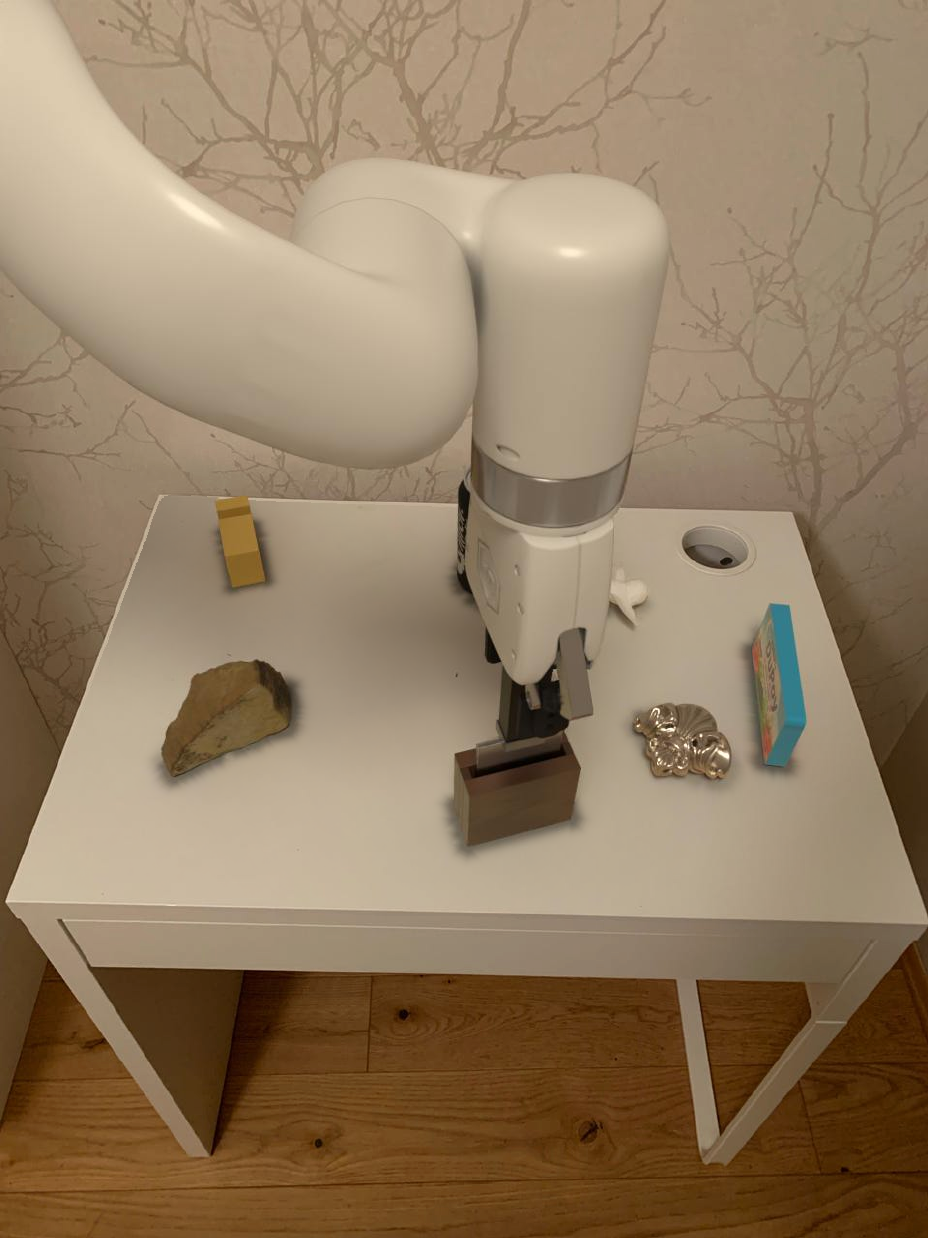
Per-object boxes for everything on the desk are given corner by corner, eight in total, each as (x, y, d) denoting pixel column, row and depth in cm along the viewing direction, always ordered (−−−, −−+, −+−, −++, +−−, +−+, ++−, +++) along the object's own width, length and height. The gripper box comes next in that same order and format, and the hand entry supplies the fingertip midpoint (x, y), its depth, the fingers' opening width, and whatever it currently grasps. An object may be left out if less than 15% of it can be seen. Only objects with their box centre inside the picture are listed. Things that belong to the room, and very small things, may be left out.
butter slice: (224, 542, 86) (216, 510, 84) (222, 532, 87) (214, 500, 84) (256, 536, 87) (249, 504, 84) (254, 526, 88) (247, 494, 85)
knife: (477, 834, 66) (486, 660, 52) (469, 811, 68) (476, 635, 53) (554, 814, 68) (585, 638, 53) (545, 791, 69) (572, 614, 54)
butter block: (232, 588, 83) (224, 556, 80) (225, 551, 86) (218, 519, 83) (265, 581, 83) (259, 549, 80) (257, 545, 86) (251, 513, 83)
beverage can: (500, 617, 81) (507, 515, 72) (442, 584, 83) (442, 482, 74) (542, 575, 84) (553, 473, 75) (485, 545, 87) (489, 443, 78)
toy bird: (660, 631, 79) (649, 597, 76) (608, 646, 80) (595, 612, 77) (642, 566, 84) (632, 531, 81) (594, 580, 85) (581, 546, 82)
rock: (144, 797, 65) (281, 775, 65) (116, 683, 64) (256, 660, 64) (187, 746, 76) (305, 727, 76) (164, 647, 74) (284, 628, 74)
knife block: (467, 847, 66) (469, 796, 61) (453, 805, 68) (454, 752, 63) (570, 820, 67) (581, 768, 62) (554, 779, 70) (562, 726, 64)
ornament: (608, 754, 71) (615, 727, 69) (655, 700, 75) (663, 673, 72) (698, 813, 68) (709, 787, 65) (742, 754, 71) (754, 727, 69)
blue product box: (783, 769, 71) (807, 722, 66) (764, 767, 71) (786, 720, 66) (769, 651, 79) (789, 602, 74) (751, 649, 79) (770, 600, 74)
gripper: (426, 374, 48) (430, 607, 61) (535, 604, 37) (511, 826, 51) (560, 353, 49) (535, 585, 63) (703, 569, 39) (636, 793, 52)
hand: (524, 690), depth 57 cm, fingers open, 5 cm apart
